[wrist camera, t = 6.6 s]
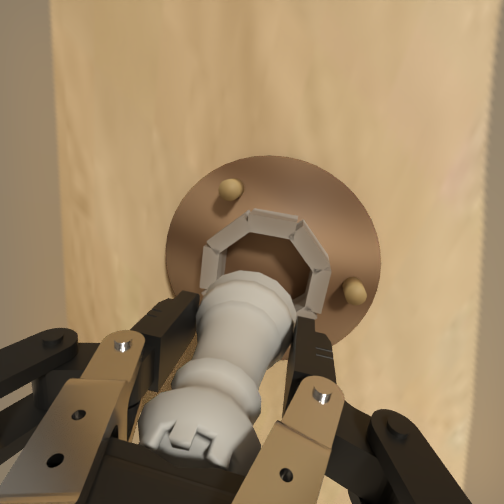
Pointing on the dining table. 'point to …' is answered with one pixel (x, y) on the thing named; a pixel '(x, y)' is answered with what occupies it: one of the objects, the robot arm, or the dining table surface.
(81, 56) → the dining table surface
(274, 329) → the rook chess piece
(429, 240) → the dining table surface
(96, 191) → the dining table surface
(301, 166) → the carrier disc
